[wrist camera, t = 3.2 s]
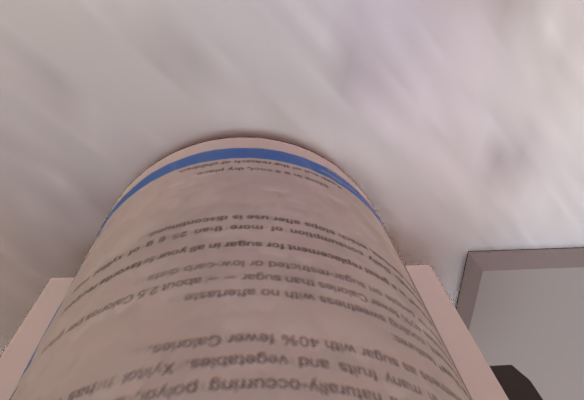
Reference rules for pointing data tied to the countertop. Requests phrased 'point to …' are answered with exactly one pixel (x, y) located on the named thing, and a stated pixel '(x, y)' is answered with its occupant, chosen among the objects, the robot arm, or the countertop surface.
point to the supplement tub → (241, 291)
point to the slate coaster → (529, 315)
